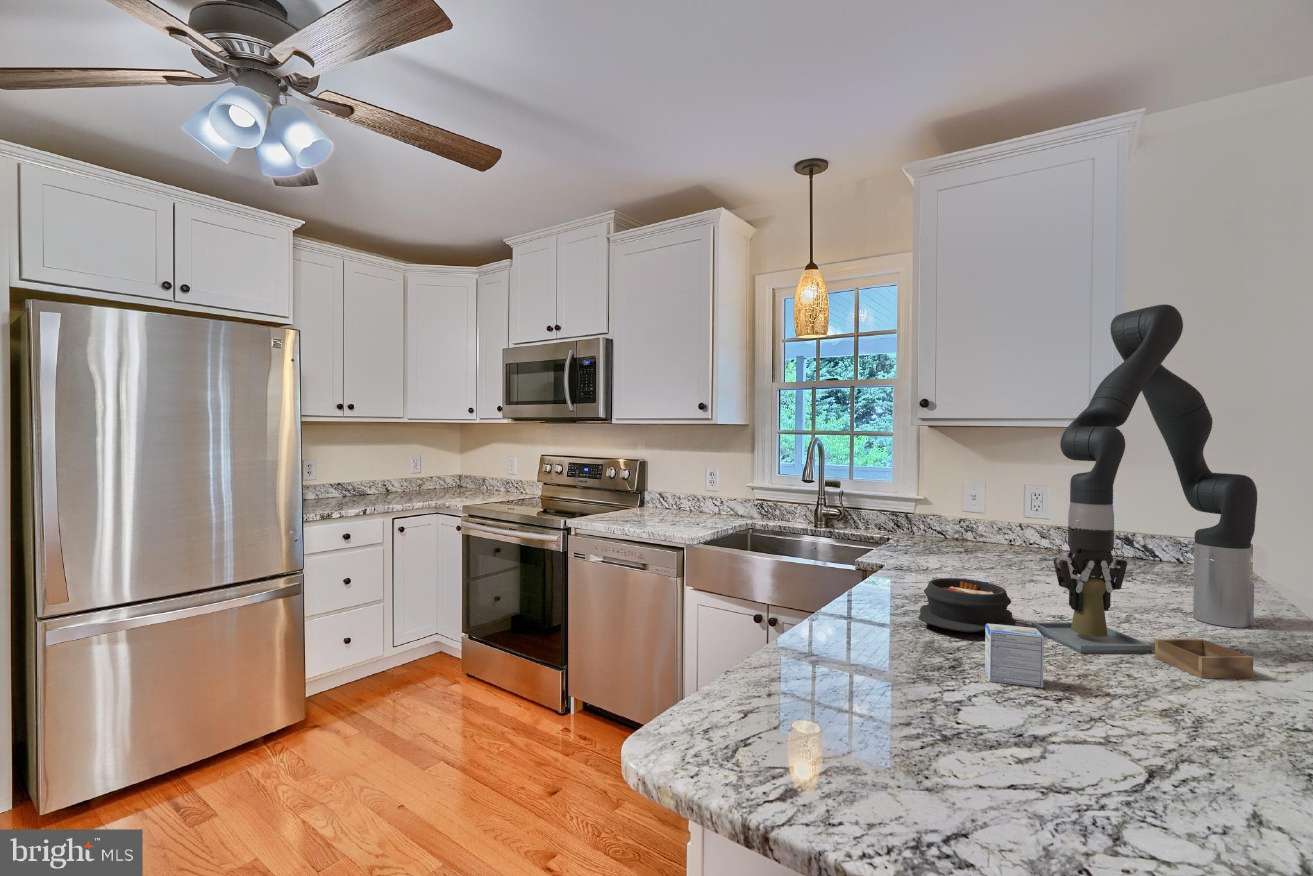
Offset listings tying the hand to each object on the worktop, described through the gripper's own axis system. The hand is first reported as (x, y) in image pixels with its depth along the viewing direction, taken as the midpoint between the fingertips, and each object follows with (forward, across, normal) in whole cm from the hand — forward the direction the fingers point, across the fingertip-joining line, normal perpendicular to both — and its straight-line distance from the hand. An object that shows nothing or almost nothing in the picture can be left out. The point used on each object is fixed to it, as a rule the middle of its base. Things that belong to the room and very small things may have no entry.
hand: (1089, 609), depth 122 cm
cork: (+5, 0, 0) cm, 5 cm away
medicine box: (+6, +28, +19) cm, 35 cm away
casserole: (+7, +19, -11) cm, 23 cm away
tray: (+6, 0, 0) cm, 6 cm away
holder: (+6, -10, +14) cm, 18 cm away
